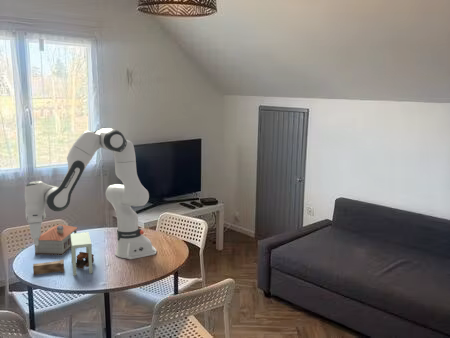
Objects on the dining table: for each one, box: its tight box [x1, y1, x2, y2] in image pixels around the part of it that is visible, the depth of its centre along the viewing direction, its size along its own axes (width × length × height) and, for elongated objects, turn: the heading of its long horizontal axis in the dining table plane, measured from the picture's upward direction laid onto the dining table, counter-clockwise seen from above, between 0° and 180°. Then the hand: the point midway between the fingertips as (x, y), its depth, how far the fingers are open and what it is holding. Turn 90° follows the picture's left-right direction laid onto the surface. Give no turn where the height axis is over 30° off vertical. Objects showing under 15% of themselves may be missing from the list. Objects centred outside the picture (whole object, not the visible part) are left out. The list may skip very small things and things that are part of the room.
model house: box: [34, 224, 79, 256], centre depth 243 cm, size 24×16×15 cm, turn 178°
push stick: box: [32, 258, 65, 276], centre depth 211 cm, size 14×6×4 cm, turn 112°
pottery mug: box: [76, 251, 95, 270], centre depth 218 cm, size 12×9×8 cm
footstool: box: [70, 231, 94, 277], centre depth 216 cm, size 9×19×16 cm, turn 22°
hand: (36, 242), depth 207 cm, fingers open, 8 cm apart
